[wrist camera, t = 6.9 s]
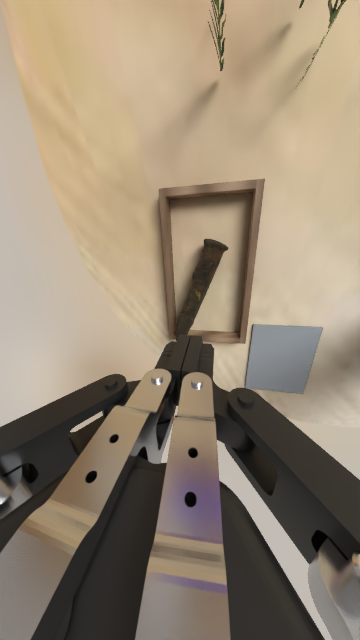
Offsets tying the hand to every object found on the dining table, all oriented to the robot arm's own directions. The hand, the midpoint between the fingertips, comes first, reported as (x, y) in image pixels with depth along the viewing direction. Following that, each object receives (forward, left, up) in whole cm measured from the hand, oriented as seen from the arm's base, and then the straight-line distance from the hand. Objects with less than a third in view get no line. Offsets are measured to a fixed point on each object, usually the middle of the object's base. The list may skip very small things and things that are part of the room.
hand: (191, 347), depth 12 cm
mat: (-15, +18, -25) cm, 34 cm away
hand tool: (0, -1, -28) cm, 28 cm away
